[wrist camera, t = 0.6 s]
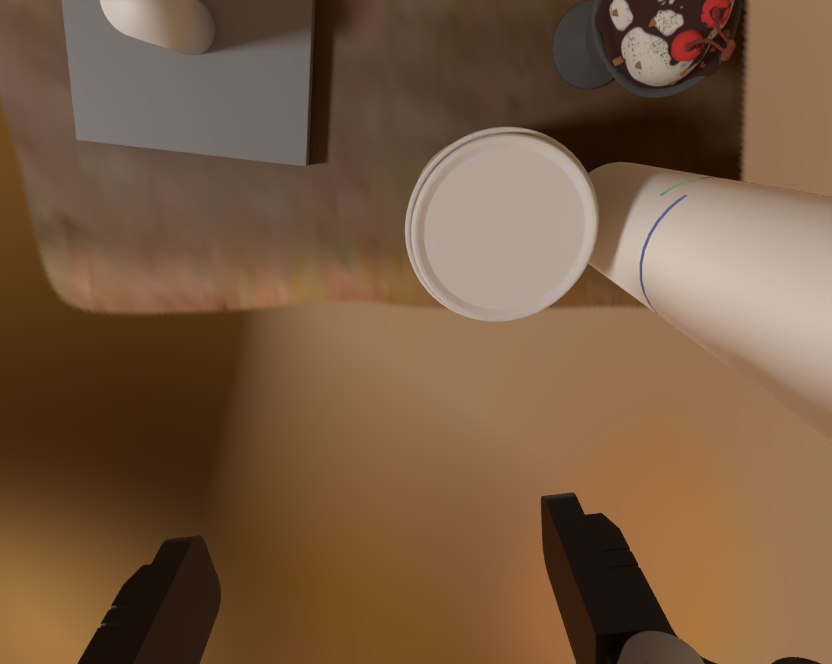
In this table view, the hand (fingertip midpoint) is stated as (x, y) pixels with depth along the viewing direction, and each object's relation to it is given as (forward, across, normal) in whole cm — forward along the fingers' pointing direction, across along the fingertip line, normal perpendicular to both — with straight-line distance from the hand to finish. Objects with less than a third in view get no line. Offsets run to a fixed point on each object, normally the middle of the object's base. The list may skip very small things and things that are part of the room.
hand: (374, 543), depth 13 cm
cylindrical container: (+27, -16, -1) cm, 31 cm away
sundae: (+27, -14, -11) cm, 33 cm away
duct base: (+27, +10, -15) cm, 32 cm away
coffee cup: (+27, -6, -3) cm, 28 cm away
